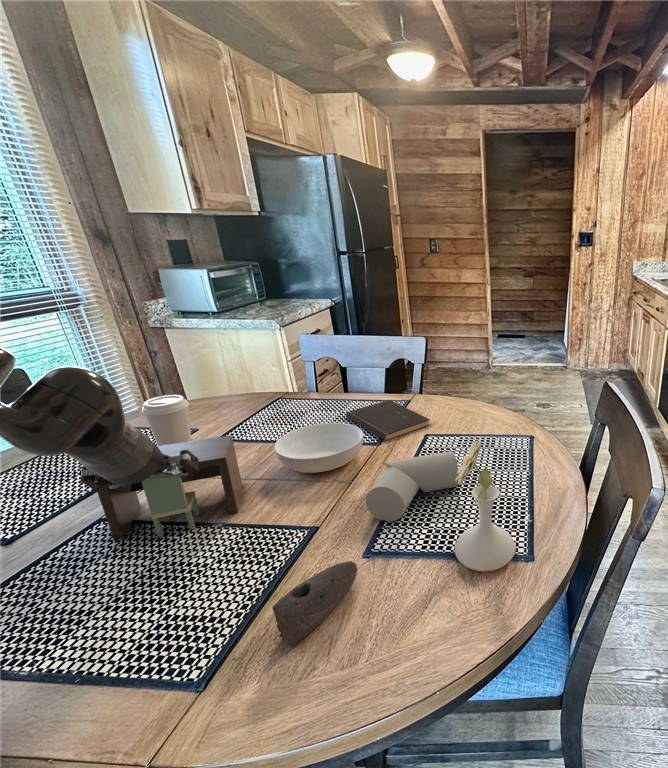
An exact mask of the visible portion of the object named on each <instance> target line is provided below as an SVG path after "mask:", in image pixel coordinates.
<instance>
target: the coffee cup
mask: <svg viewBox="0 0 668 768" xmlns="http://www.w3.org/2000/svg"><path fill="white" fill-rule="evenodd" d="M189 406H190V403H189V401H188V400H187V399H186V398H185V397H184V396H183V395H180V394H167V395H161V396H157V397H152V398H150V399H147V400H146V401H145V402H143V406H142V407H141V414H142V415H144V416H145V418H146V421H147V423H148V425H149V428H150V430H151V433H152V435H153V437H154V440H155V442H156V445H157V446H163V445H169V444H176V443H183V442H189V441H193V440H192V432H191V424H190V418H189V409H188V407H189Z"/></svg>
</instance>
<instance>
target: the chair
mask: <svg viewBox="0 0 668 768" xmlns="http://www.w3.org/2000/svg"><path fill="white" fill-rule="evenodd" d="M176 470H177V471H179V468H178V467H176ZM163 472H166V470H165V471H163ZM142 485H143V488H144V490H143V491H144V495H145V498H146V501H147V505H148V507H149V511H150V515H149V516H150V519H151V520H152V522H153V525H154V528H155V532H156V536H157V538H160V537H164V535H165V532H164V529H163V526H162V522H161V519H160V518H162V519H163V523H166V522H170V520H171V517H170V516H172V515H178V514H183V513H185V518H186V521H187V525H188V528H189V530H190V531H191V530H195V529H196V524H195V520H194V516H199V515H200V508H199V505H198V502H197V497H196V496H197V493H196V491H195V490H193V491H187V492H186V491H185V488H184V484H183V483H182V479H181V478H180V477H179V476H173V477H170V478H161V477H154V478H147V479H145V480H143V481H142ZM192 511H193V512H192Z"/></svg>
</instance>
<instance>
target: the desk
mask: <svg viewBox="0 0 668 768" xmlns="http://www.w3.org/2000/svg"><path fill="white" fill-rule="evenodd" d="M157 446H158V445H157ZM158 448H159V449H160V450H161V452H162V454H165V455H169V456H170V457H173V456H179V454H180V451H182V450H189V451H190V452H191V453H192V454H193V455H195V456H196V457H197V458H198V459H199V462H198V465H199V472H198V473H193V477H192V478H190V481H184V480H182V483H189V482H193V481H195V482H196V481H199V480H204V479H210V478H215V477H220V479H221V483H222V488H223V492H224V496H225V500H226V505H227V509H228V514H229V515H233V514H238V513H239V511H240V510H239V509H240V503H241V497H242V492H243V482H242V477H241V472H240V467H239V463H238V458H237V453H236V449H235V444H234V440H233V435H223V436H218V437H210V438H204V439H197V440H192V441H189V442H183V443H176V444H169V445H163V446H158ZM176 467H178V468H179V466H177V465H176ZM140 491H144V488H143V485H142V481H141V482H138V483H135V484H131V491H130V492H124V491H122V490H117V489H110V488H109V486H106V487H103V489H102V490H96V492H97V495H98V498H99V501H100V504H101V507H102V510H103V513H104V515H105V519H106V522H107V525H108V526H109V530H110V533H111V536H112V538H113V540H114V541H116V540H121V539H125V537H126V535H127V533H128V531H129V530H130V527H131V525H132V524H133V522H134V521H135V518H136V517H137V514H138V512H139V510H140V509H141V507H142V505H141V503H140V499H139V495H138V493H137V492H140Z"/></svg>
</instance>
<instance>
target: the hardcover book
mask: <svg viewBox="0 0 668 768" xmlns="http://www.w3.org/2000/svg"><path fill="white" fill-rule="evenodd" d="M346 418H347V419H349V420H350V421H352V422H354V423H355V424H356V425H359V426H360V427H362V428H364V429H365V430H367V431H368V432H370V433H371V434H373V435H375V436H377V437H378V438H380V439H381V440H383V441H385V442H387V441H389V440H392V439H395V438H398V437H401V436H404V435H406V434H409V433H412V432H415V431H418V430H420V429H423V428H426V427H429V426H430V424H429V421H431V419H430V418H428V417H426V416H424V415H422V414H420V413H417V412H416V411H413V410H411V409H409V408H407V407H406V406H403V405H401V404H399V403H397V402H395V401H393V400H391V399H387V400H384V401H380V402H377V403H374V404H370V405H366V406H363V407H360V408H359V407H358V408H356V409H352V410H349V411H347V412H346Z"/></svg>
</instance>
